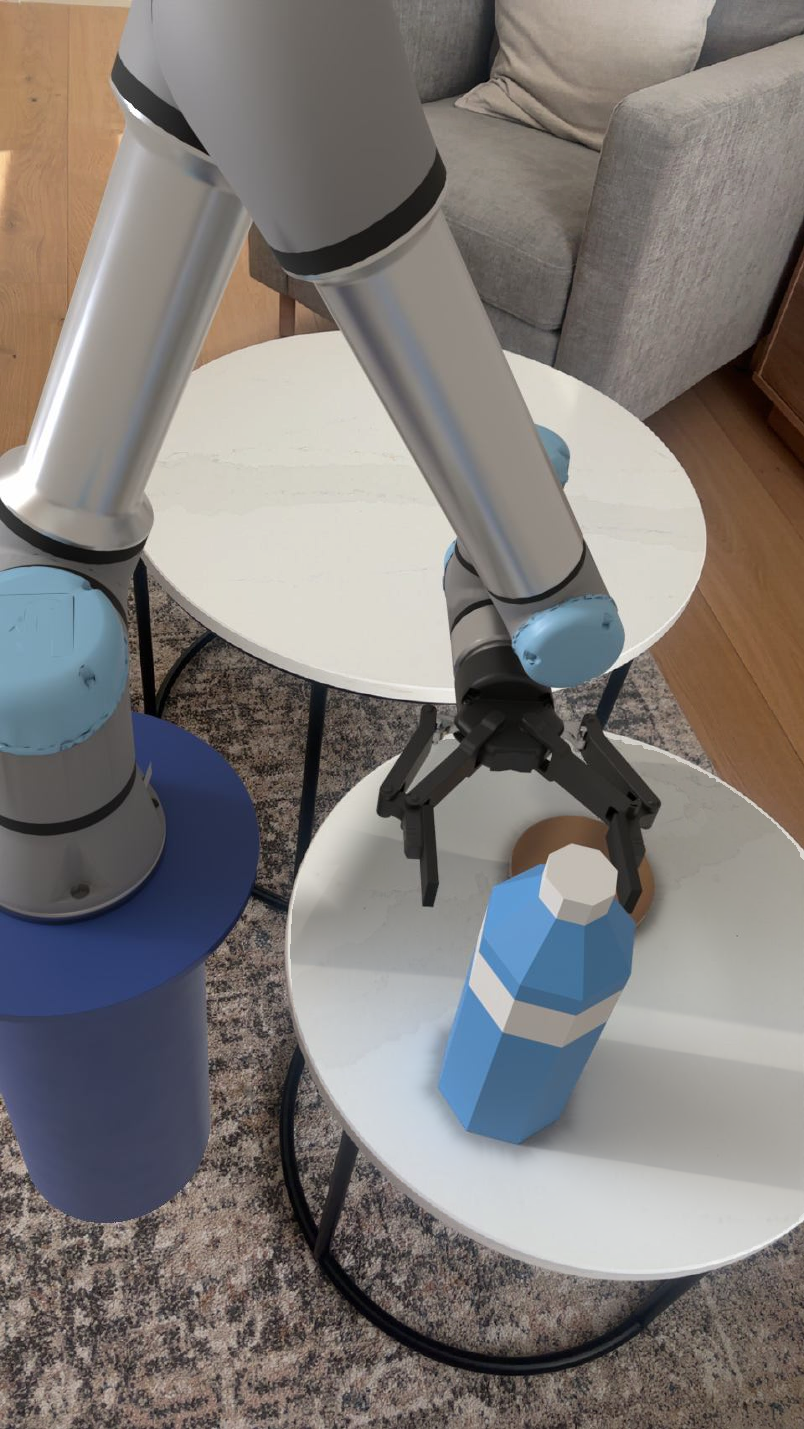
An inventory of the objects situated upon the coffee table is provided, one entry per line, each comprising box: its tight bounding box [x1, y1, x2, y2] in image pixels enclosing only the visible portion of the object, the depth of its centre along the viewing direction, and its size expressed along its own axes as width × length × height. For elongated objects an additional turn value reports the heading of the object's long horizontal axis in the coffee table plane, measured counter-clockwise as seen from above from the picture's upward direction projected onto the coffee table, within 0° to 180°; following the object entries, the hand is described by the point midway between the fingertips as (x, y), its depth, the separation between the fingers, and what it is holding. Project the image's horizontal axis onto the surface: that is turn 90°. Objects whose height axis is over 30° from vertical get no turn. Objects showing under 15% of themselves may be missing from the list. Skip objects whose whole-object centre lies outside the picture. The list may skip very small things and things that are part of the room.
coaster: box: [508, 815, 656, 929], centre depth 90 cm, size 12×12×1 cm
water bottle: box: [437, 844, 636, 1145], centre depth 69 cm, size 9×9×25 cm
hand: (532, 899), depth 72 cm, fingers open, 13 cm apart
